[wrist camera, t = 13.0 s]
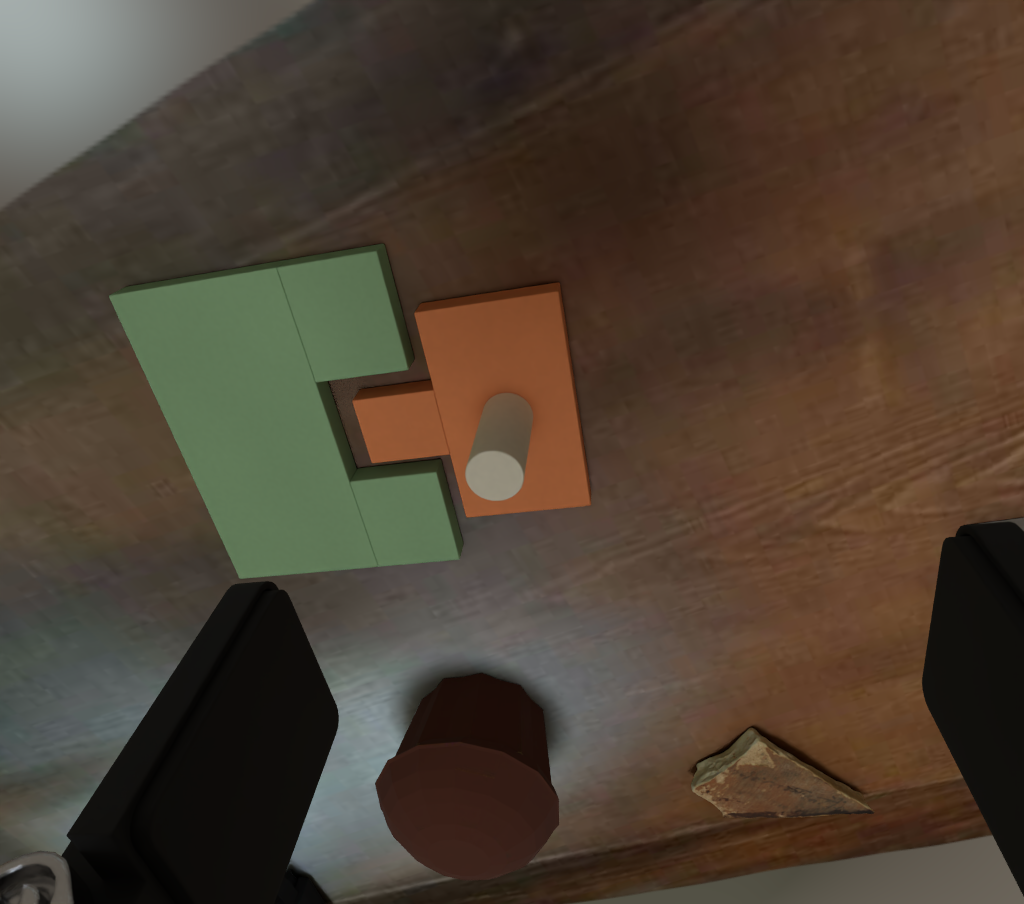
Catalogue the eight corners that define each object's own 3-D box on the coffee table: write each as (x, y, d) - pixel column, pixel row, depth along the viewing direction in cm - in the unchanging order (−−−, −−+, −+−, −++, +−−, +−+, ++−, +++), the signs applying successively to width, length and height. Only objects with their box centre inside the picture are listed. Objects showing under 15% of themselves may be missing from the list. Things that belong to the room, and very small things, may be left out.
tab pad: (337, 315, 36) (281, 374, 29) (559, 281, 34) (552, 336, 27) (397, 510, 41) (362, 595, 35) (590, 490, 39) (591, 577, 33)
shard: (867, 793, 50) (876, 817, 48) (785, 839, 53) (791, 863, 52) (757, 721, 47) (762, 744, 46) (677, 774, 51) (680, 797, 49)
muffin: (597, 718, 49) (599, 862, 40) (501, 790, 53) (485, 933, 45) (457, 631, 46) (427, 767, 37) (370, 716, 51) (325, 853, 42)
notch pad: (125, 286, 36) (107, 295, 35) (384, 243, 34) (376, 250, 32) (249, 563, 45) (239, 579, 43) (463, 544, 42) (459, 560, 41)
